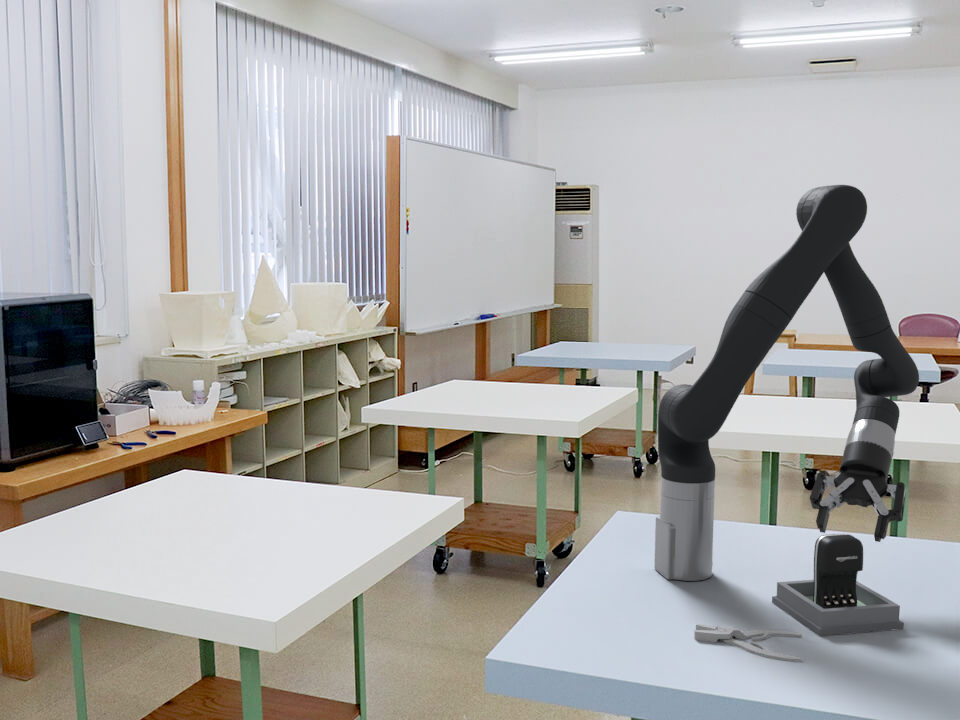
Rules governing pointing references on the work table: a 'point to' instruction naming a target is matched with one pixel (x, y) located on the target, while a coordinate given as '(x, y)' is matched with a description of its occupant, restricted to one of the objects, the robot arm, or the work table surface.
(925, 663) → the work table surface
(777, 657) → the pliers
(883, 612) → the tray
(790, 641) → the work table surface
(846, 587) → the battery charger
